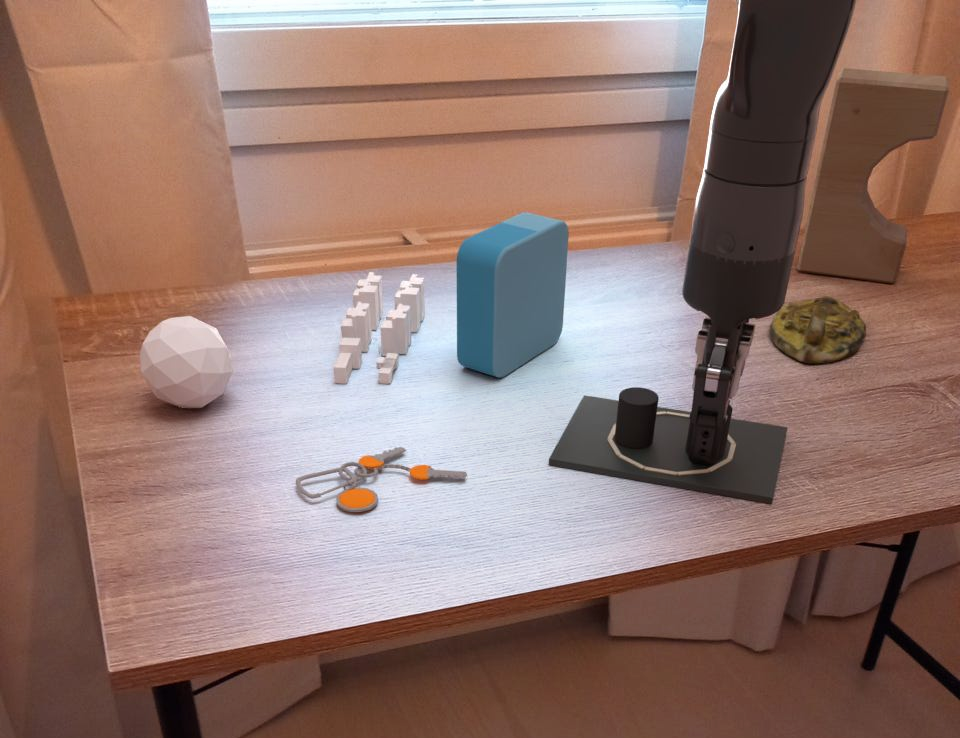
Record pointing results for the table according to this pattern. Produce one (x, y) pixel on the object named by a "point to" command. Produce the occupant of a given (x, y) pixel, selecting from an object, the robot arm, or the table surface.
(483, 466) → the table surface
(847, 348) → the olive lumpy oval slab
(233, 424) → the table surface
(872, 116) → the decorative block
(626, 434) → the eye peg
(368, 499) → the key chain
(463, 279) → the blue rounded slab
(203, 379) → the geometric ball
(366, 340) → the modular blocks
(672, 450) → the slate board
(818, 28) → the robot arm
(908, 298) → the table surface
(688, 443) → the eye peg
